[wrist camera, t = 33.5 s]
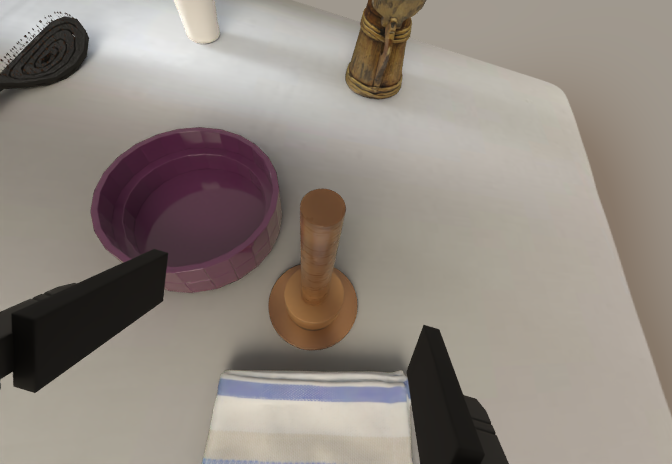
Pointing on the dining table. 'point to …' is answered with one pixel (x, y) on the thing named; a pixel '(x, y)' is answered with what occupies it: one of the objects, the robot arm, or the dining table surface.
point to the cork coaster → (305, 337)
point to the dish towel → (310, 418)
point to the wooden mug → (381, 47)
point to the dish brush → (317, 262)
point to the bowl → (191, 206)
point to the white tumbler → (199, 20)
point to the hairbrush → (47, 55)
